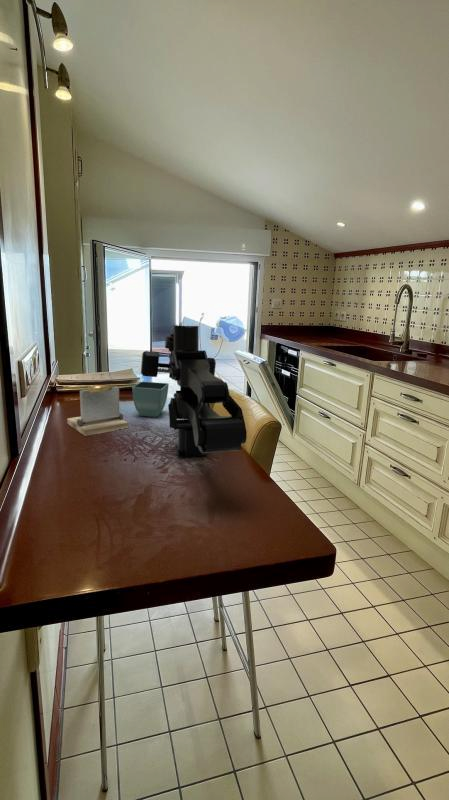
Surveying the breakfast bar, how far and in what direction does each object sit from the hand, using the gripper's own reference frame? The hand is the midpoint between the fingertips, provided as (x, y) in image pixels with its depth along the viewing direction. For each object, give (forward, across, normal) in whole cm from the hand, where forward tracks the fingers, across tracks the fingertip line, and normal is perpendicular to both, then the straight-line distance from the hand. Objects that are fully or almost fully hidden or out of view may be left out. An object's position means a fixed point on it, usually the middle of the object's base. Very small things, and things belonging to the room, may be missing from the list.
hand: (173, 364), depth 118 cm
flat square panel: (-3, +18, +16) cm, 24 cm away
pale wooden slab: (-1, +19, +18) cm, 26 cm away
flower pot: (+8, +4, +16) cm, 18 cm away
